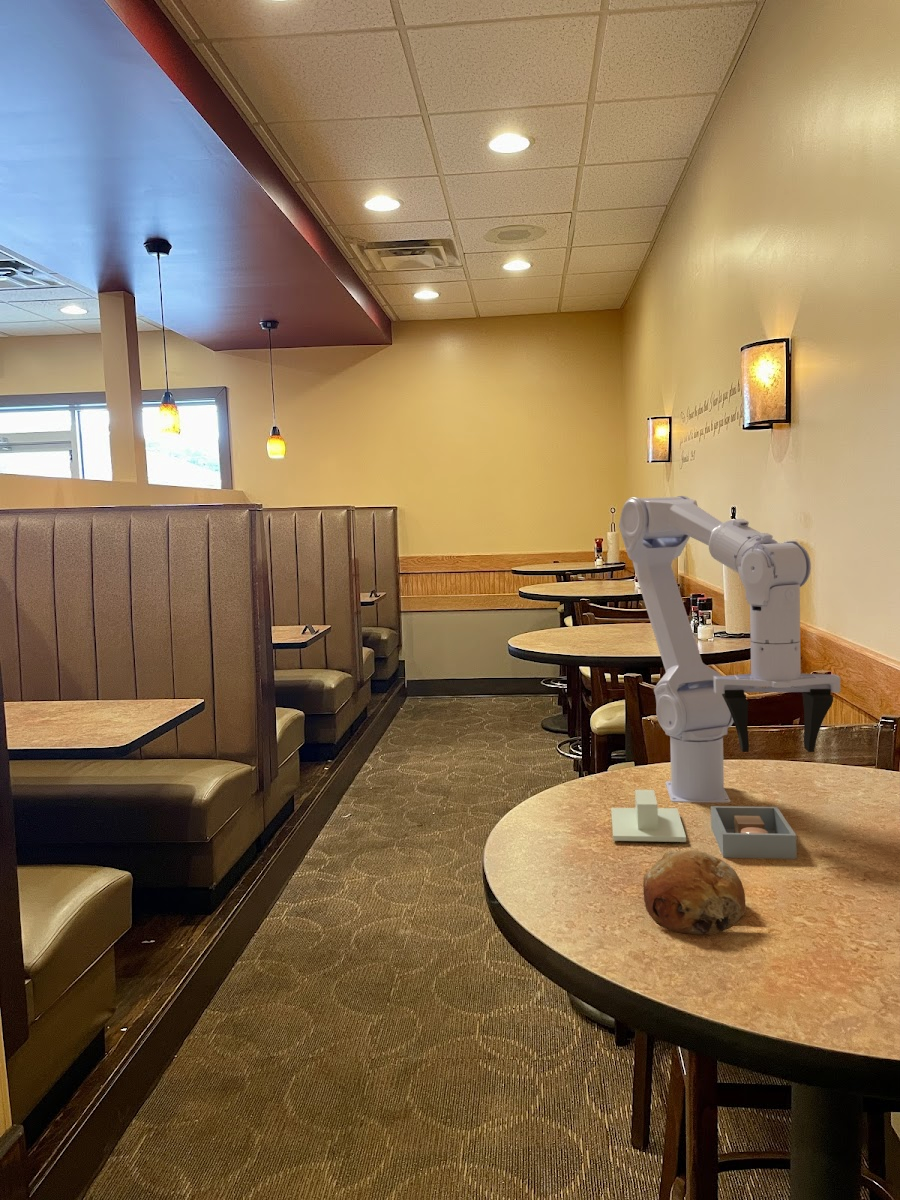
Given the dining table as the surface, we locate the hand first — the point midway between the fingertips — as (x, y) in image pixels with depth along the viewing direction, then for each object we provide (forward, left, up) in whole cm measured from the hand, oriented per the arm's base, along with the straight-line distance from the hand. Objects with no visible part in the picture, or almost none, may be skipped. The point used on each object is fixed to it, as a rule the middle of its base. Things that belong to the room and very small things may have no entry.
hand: (776, 750), depth 105 cm
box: (+5, -4, -10) cm, 12 cm away
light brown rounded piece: (+7, -4, -10) cm, 13 cm away
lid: (+1, -16, -10) cm, 19 cm away
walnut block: (+4, -4, -10) cm, 11 cm away
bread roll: (+24, -13, -11) cm, 29 cm away
